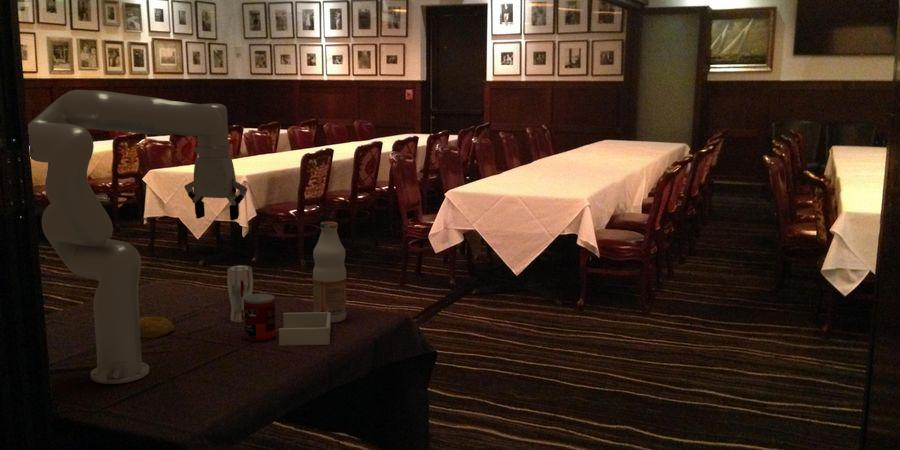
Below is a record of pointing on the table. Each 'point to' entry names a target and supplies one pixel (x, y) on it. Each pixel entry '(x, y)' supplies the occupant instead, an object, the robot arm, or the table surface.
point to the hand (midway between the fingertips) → (217, 218)
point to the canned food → (259, 317)
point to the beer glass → (239, 289)
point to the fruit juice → (329, 273)
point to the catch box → (305, 329)
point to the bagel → (154, 327)
